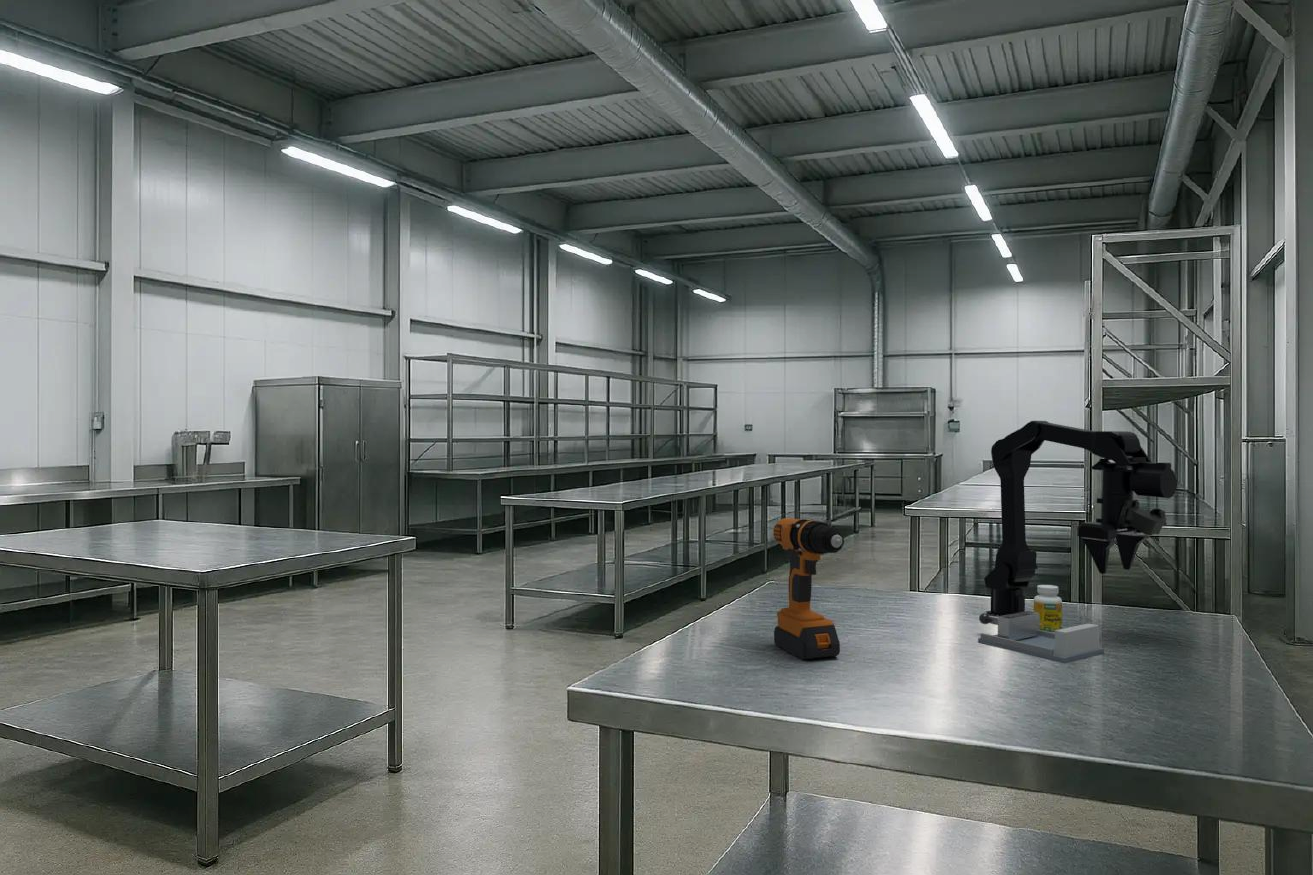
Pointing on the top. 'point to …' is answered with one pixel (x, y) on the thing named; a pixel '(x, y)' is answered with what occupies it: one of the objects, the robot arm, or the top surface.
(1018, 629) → the sliding jaw
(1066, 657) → the vise base
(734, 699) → the top surface
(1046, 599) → the supplement bottle
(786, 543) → the power drill
